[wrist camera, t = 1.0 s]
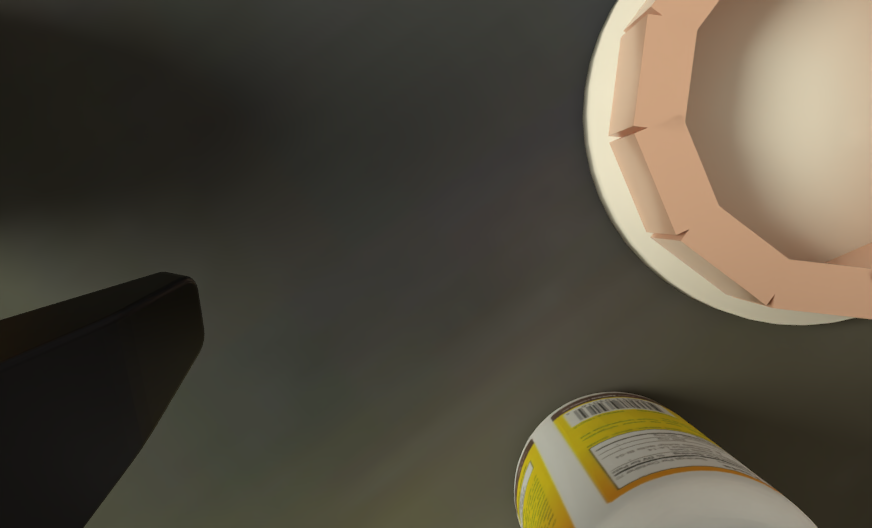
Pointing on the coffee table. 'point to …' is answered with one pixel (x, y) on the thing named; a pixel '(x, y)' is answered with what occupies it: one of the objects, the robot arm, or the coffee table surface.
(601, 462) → the supplement bottle
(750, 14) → the collar
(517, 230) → the coffee table surface
